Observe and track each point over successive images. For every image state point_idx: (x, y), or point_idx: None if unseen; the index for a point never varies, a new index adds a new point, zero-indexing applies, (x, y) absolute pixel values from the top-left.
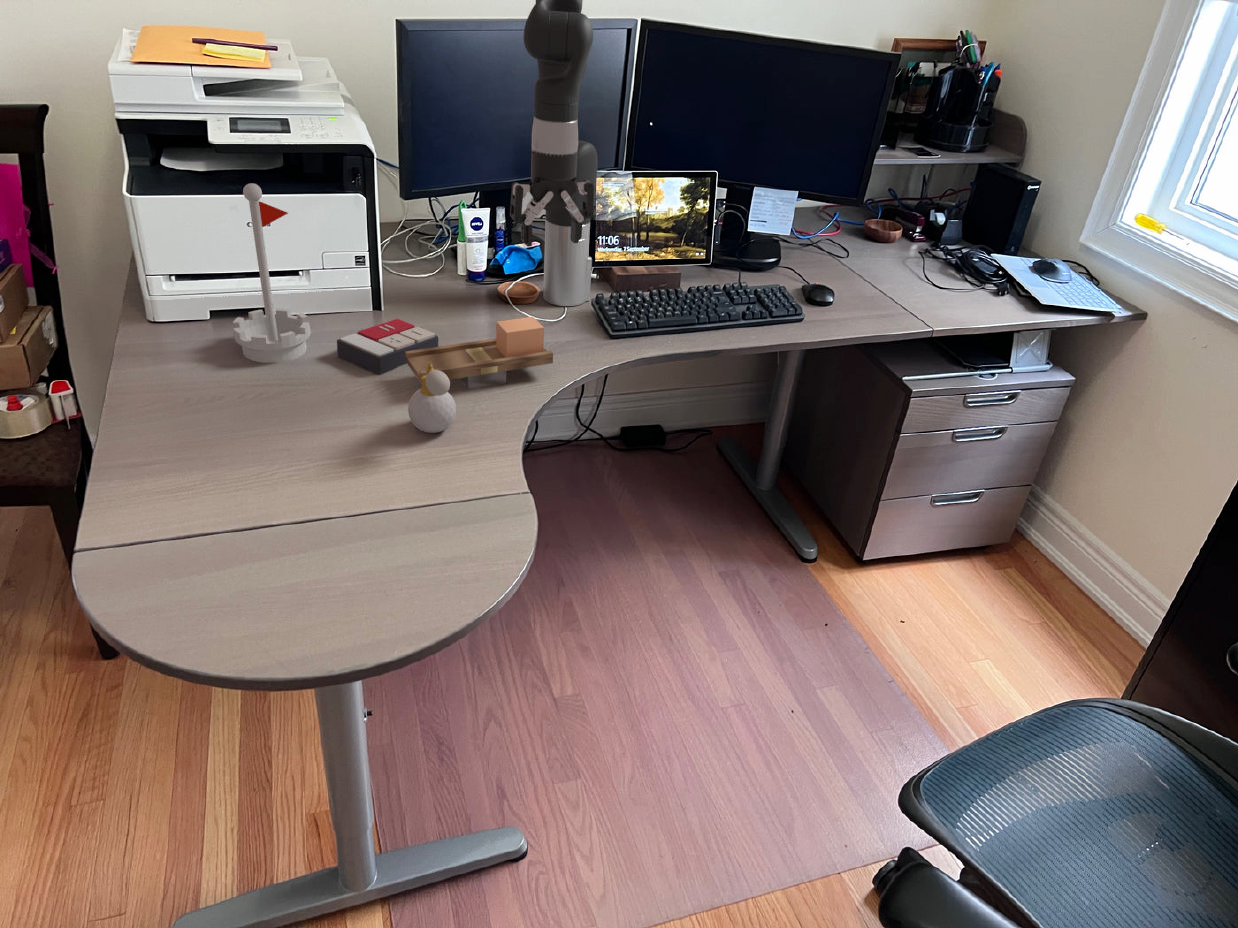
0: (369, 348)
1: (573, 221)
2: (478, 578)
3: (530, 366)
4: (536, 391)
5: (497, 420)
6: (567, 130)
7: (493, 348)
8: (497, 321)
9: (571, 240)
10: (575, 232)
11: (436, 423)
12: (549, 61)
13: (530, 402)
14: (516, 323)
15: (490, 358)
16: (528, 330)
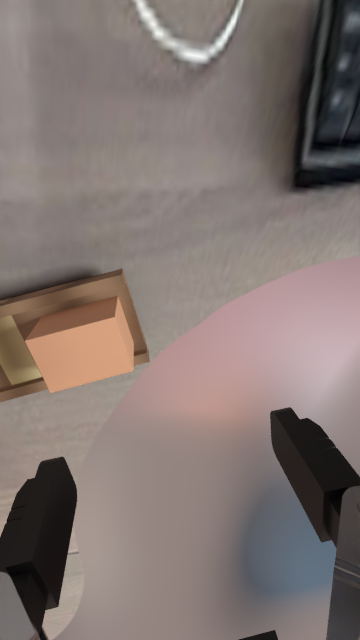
0: None
1: (321, 518)
2: (42, 625)
3: None
4: (117, 375)
5: (56, 443)
6: None
7: (36, 319)
8: (27, 339)
9: (272, 419)
10: (296, 494)
11: None
12: None
13: (105, 403)
14: (73, 351)
15: (32, 359)
16: (98, 379)
